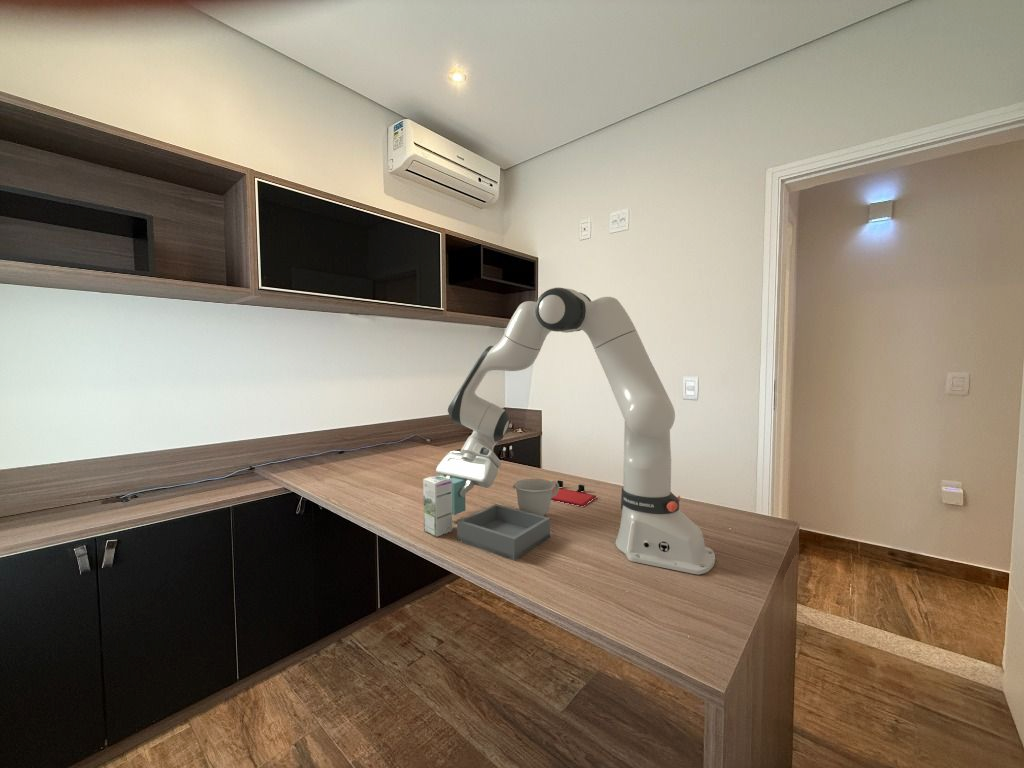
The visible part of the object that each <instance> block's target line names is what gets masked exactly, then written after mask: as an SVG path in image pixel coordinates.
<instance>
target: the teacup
mask: <svg viewBox="0 0 1024 768" xmlns="http://www.w3.org/2000/svg"><path fill="white" fill-rule="evenodd" d="M513 487H515V490H516V499H517V505H518V510H521V511H525V512H529V513H532V514H536V515H540V516H544V517H545V515H547V513H548V512H549V511H550V508H551V504H552V501H551V499H552V498H553V497H554V496H556V495H557V493H558V491H559V484H558V483H557V480H556V481H555V480H553V481H549V480H546V479H542V478H541V479H539V478H527V479H526V478H525V479H520V480H518V481H516V482H514V484H513ZM554 487H555V490H554V492H553V493H552V490H553V488H554Z"/></svg>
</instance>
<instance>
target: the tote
mask: <svg viewBox="0 0 1024 768" xmlns="http://www.w3.org/2000/svg"><path fill="white" fill-rule="evenodd" d="M549 538H551V518H550V517H548V516H545V515H544V516H540V515H536V514H532V513H529V512H525V511H521V510H520V509H516V508H513V507H509V506H505V505H503V504H502V505H501V504H497V503H495V504H492V505H490V506H488V507H486V508H484V509H482V510H479V511H477V512H475V513H472V514H470V515H468V516H465V517H464V518H460V519H458V520H456V540H457V541H458V540H459V541H458V542H460V541H462V542H461V543H463V542H464V544H466V543H467V544H466V545H469V546H472V545H473V546H472V547H475V548H477V547H478V549H480V548H481V550H483V549H484V550H483V551H486V552H489V553H491V552H492V554H495V555H498V556H500V557H503V558H506V559H509V560H511V561H516V560H517V559H520V557H522V556H523V555H525V554H526V553H528V552H530V551H531V550H533V549H534V548H536V547H538V545H541V544H542V543H543V542H545V541H547V540H548V539H549Z"/></svg>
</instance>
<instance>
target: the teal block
mask: <svg viewBox="0 0 1024 768" xmlns="http://www.w3.org/2000/svg"><path fill="white" fill-rule="evenodd" d="M450 479H452V516H457V515H458V514H460V513H463V512H465V511H466V495H465V496H464V497H461V496H459V495H458V494H457V493H458V491H459V489H460V488H461V489H462V488H463V487H464V486H465V485H466V483H465V480H464V479H460V478H455V477H453V478H450Z"/></svg>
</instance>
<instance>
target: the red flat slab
mask: <svg viewBox="0 0 1024 768" xmlns="http://www.w3.org/2000/svg"><path fill="white" fill-rule="evenodd" d="M556 482H557V483H558V484H559V487H563V488H559V491H558V493H557V495H556V496H554V497H553V498H552V499H551V500H554V501H553V502H555V501H560V502H564V503H563V504H565V503H569V504H574V505H579V506H584V505H586V504H587V503H588V502H589V501H591V500H592V499H594V498H595V497H596V496H597V495H595V494H592V493H591V494H590V493H585V485H584V484H578V486H577V487H578V489H577V490H572V489H566V488H564V481H563V480H556ZM554 490H555V487H554V488H553V490H552V493H553V492H554ZM581 491H584V492H581ZM594 500H595V499H594ZM560 502H559V503H560ZM569 504H568V505H569ZM574 505H573V506H574ZM587 505H588V504H587ZM587 505H586V506H587ZM579 506H578V507H579Z"/></svg>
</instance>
